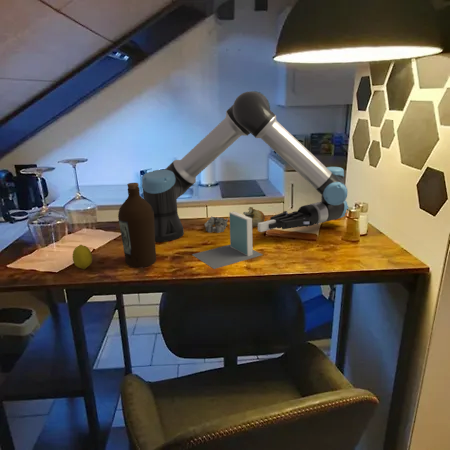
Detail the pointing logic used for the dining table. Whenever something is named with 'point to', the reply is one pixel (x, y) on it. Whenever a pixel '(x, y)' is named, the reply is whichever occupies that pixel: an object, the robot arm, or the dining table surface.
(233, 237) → the tile
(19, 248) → the dining table surface
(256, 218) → the onion
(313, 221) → the robot arm
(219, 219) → the egg carton
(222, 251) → the mat
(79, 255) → the lemon
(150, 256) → the olive oil
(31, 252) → the dining table surface
